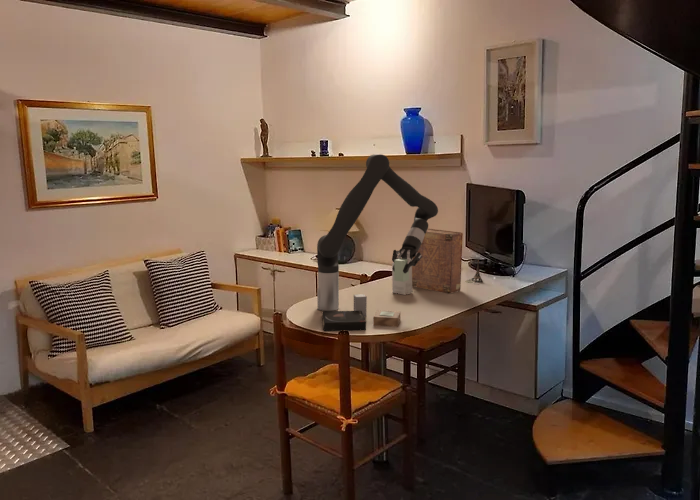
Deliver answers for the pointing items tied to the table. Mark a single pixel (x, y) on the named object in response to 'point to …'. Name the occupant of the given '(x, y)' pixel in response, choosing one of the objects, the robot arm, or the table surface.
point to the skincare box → (402, 284)
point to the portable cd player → (343, 320)
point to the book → (439, 262)
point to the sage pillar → (400, 270)
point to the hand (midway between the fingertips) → (399, 271)
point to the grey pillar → (360, 303)
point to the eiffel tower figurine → (476, 276)
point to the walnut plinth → (386, 318)
